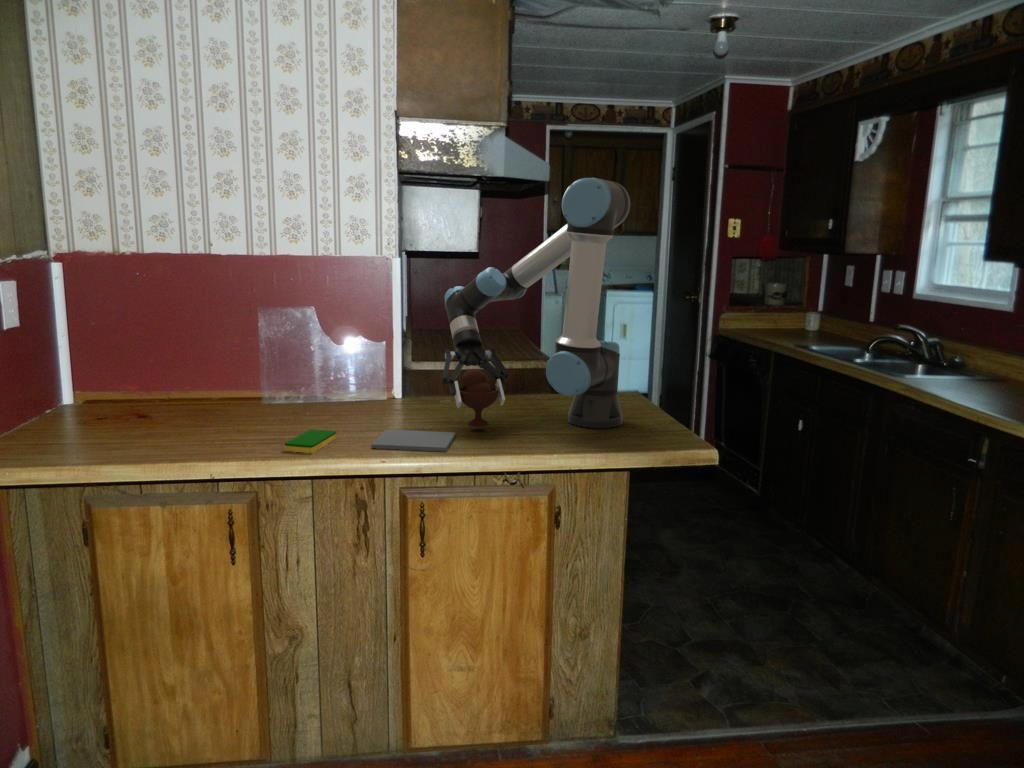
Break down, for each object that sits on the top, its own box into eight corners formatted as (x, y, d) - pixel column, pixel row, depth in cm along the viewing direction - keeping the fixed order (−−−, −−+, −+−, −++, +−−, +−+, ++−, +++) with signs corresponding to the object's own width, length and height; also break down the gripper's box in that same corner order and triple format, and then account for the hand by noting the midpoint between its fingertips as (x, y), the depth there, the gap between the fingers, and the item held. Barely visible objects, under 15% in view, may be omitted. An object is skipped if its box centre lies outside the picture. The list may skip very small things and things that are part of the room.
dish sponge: (284, 453, 174) (283, 443, 174) (310, 438, 187) (310, 428, 187) (312, 455, 173) (312, 445, 172) (337, 440, 186) (337, 430, 186)
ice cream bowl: (494, 430, 190) (494, 372, 187) (452, 428, 192) (451, 370, 189) (503, 420, 200) (503, 365, 197) (463, 418, 202) (462, 364, 200)
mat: (455, 436, 190) (455, 432, 190) (445, 451, 176) (445, 447, 176) (385, 433, 192) (385, 429, 191) (371, 448, 178) (371, 444, 178)
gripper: (503, 343, 211) (520, 408, 199) (422, 346, 203) (434, 414, 192) (509, 326, 205) (527, 393, 193) (425, 328, 197) (439, 398, 186)
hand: (481, 403), depth 192 cm, fingers closed on ice cream bowl, 11 cm apart
